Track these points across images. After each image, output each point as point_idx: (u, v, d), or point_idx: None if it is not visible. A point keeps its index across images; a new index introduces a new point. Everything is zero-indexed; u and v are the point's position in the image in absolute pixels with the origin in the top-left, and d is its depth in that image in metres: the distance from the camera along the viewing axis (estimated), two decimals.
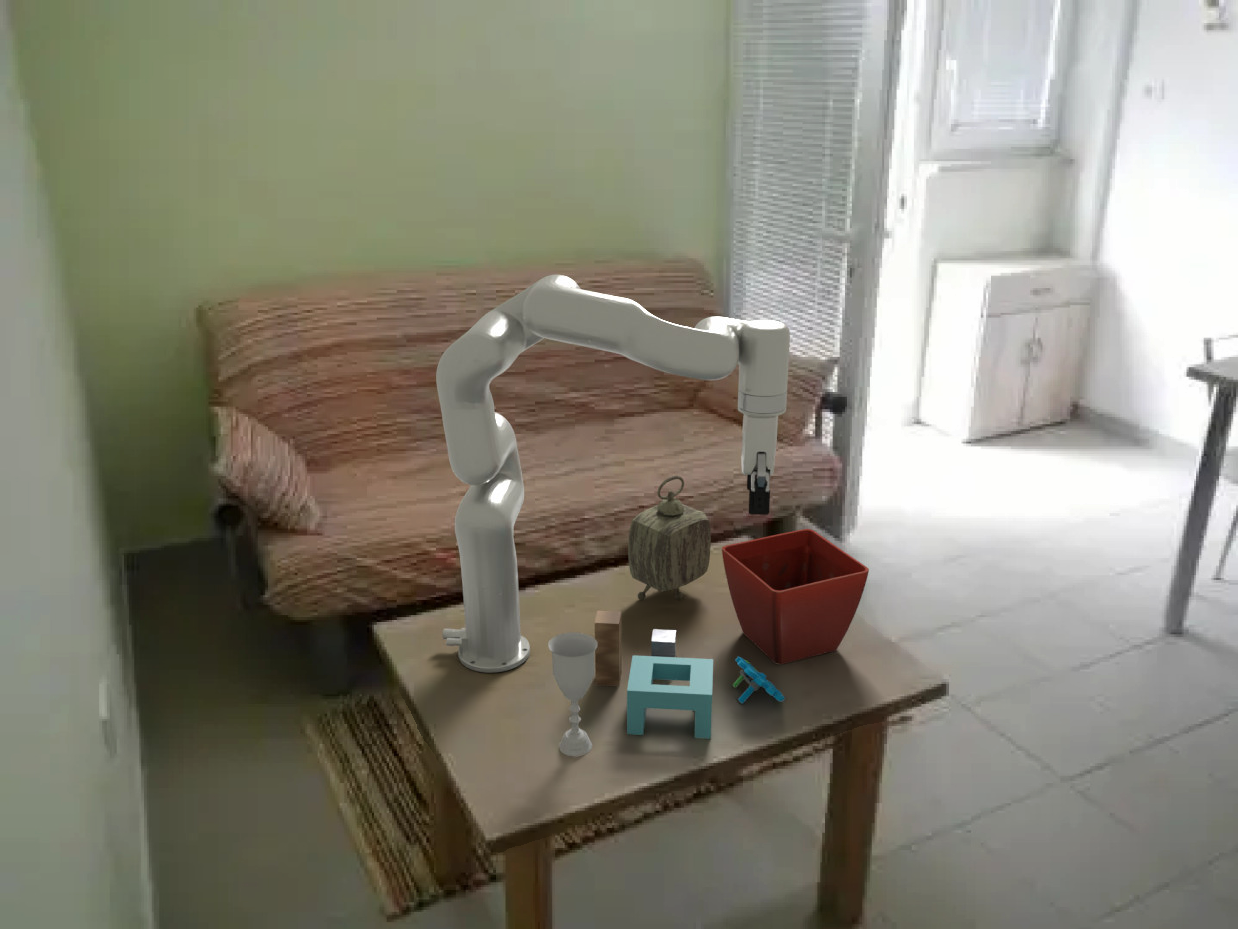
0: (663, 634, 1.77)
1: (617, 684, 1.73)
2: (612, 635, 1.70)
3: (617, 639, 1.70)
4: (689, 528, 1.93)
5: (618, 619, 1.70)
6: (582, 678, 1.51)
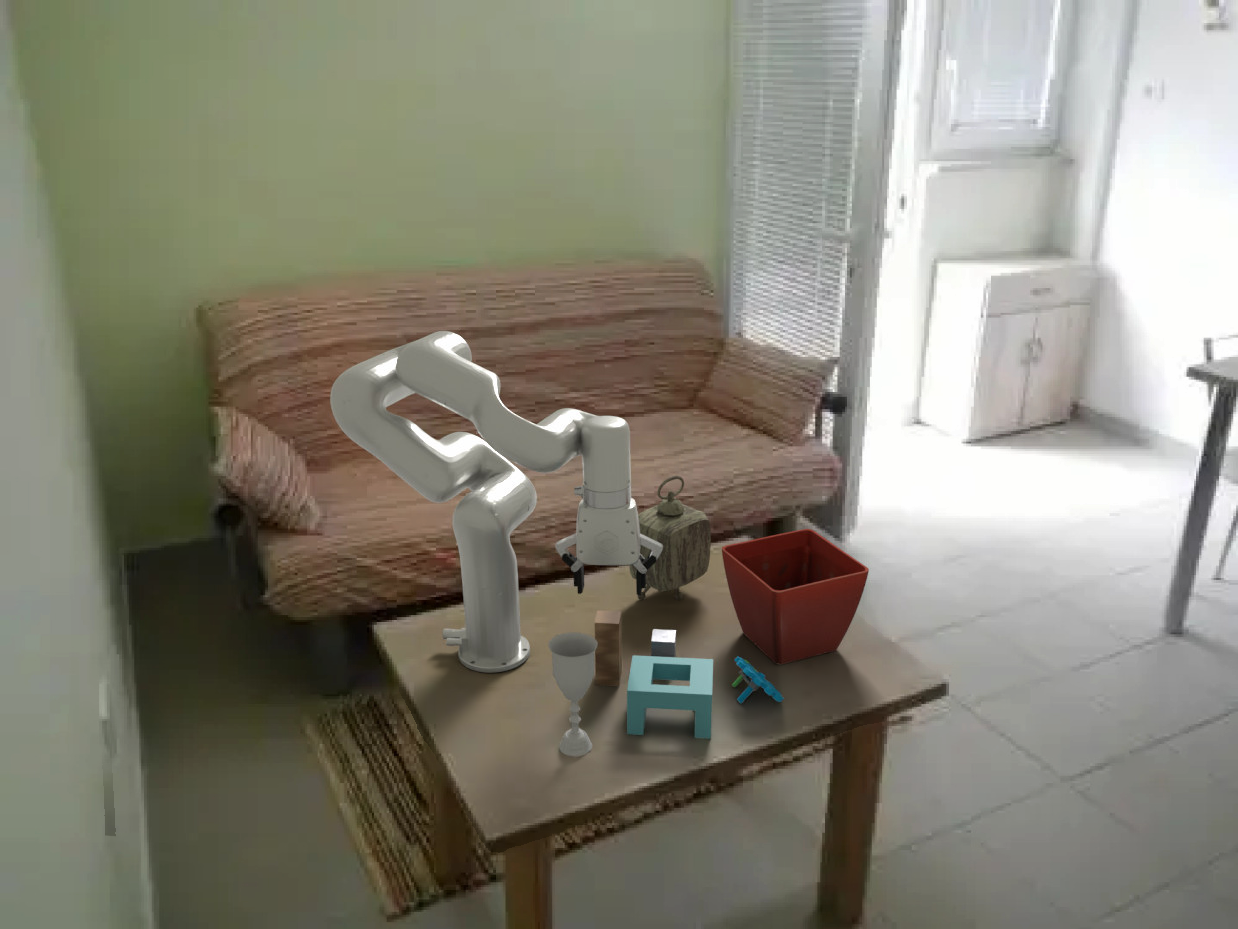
0: (663, 634, 1.77)
1: (617, 684, 1.73)
2: (612, 635, 1.70)
3: (617, 639, 1.70)
4: (689, 528, 1.93)
5: (618, 619, 1.70)
6: (582, 678, 1.51)
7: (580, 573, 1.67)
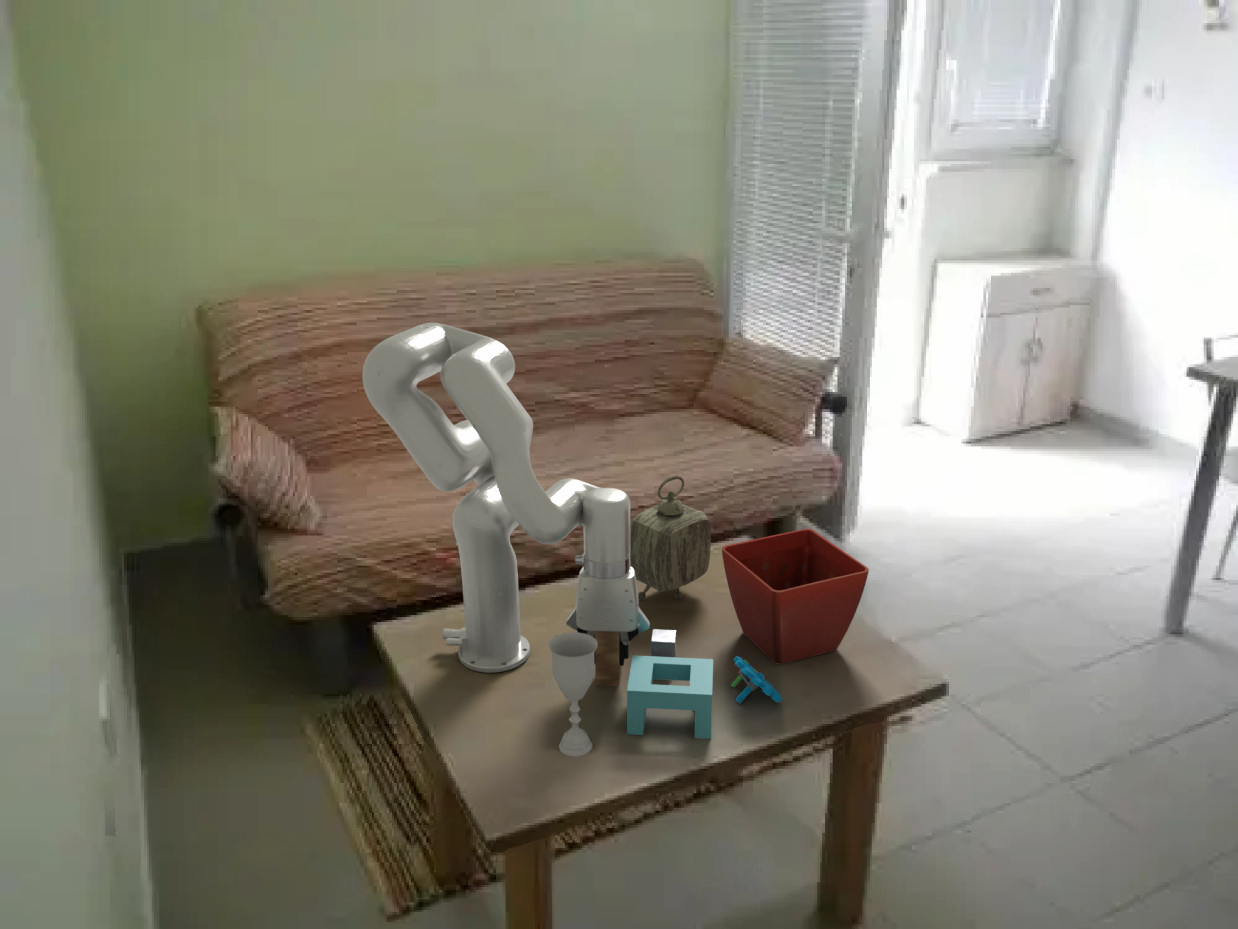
0: (663, 634, 1.77)
1: (617, 684, 1.73)
2: (612, 635, 1.70)
3: (617, 639, 1.70)
4: (689, 528, 1.93)
5: None
6: (582, 678, 1.51)
7: None
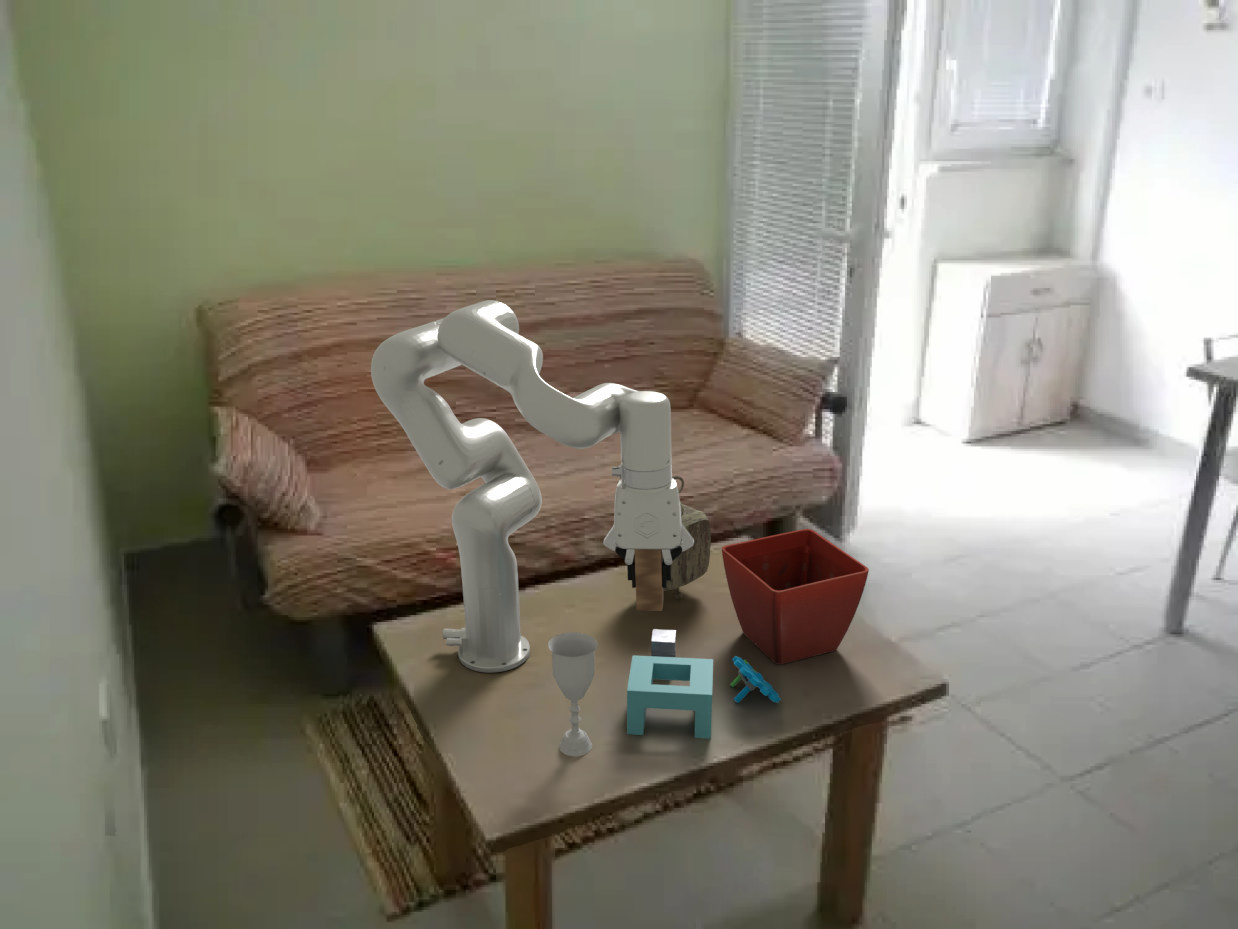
0: (663, 634, 1.77)
1: (660, 608, 1.60)
2: (654, 553, 1.57)
3: (659, 557, 1.57)
4: (689, 528, 1.93)
5: None
6: (582, 678, 1.51)
7: None
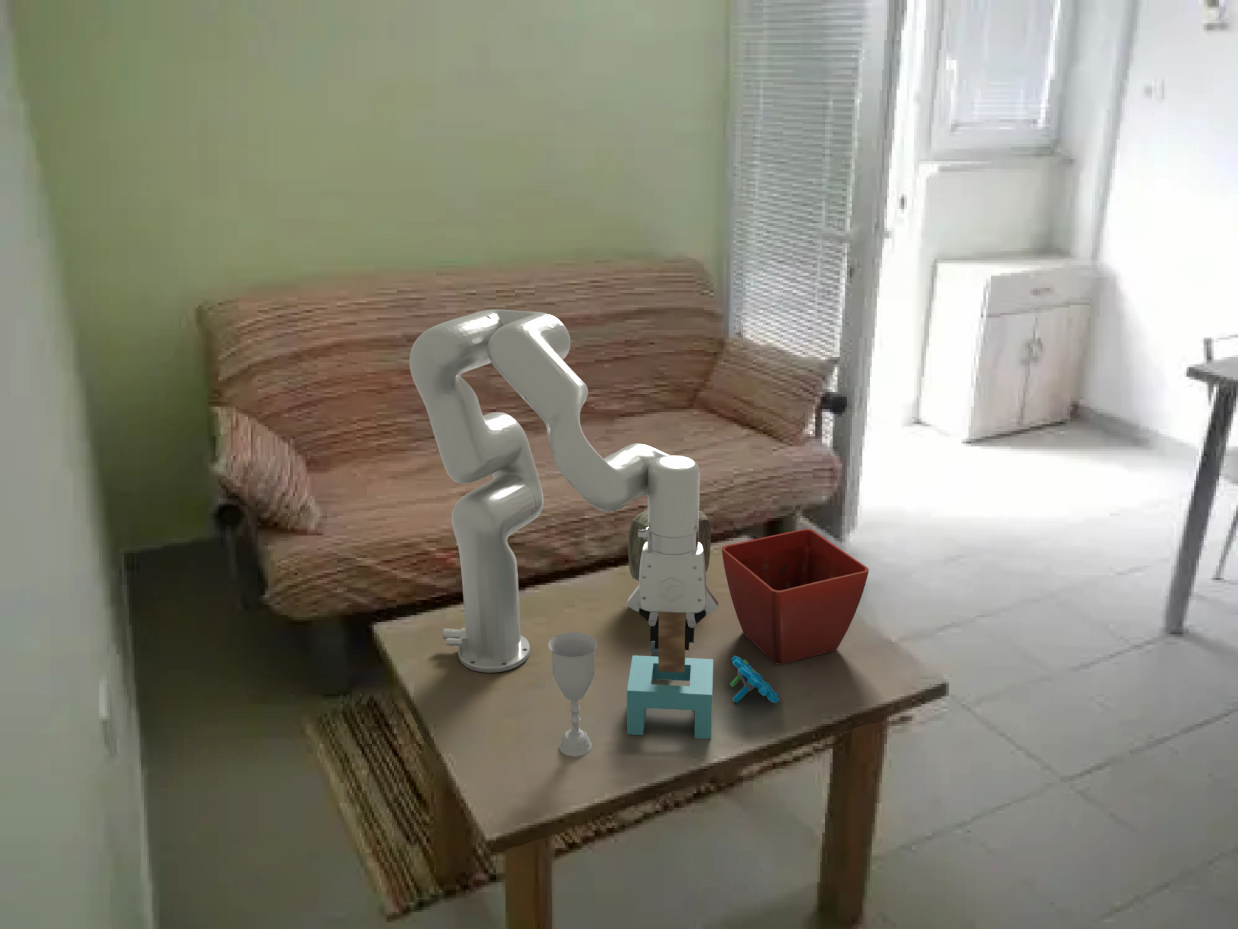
0: None
1: (682, 670, 1.59)
2: (678, 616, 1.56)
3: (683, 621, 1.56)
4: None
5: None
6: (582, 678, 1.51)
7: (658, 628, 1.57)
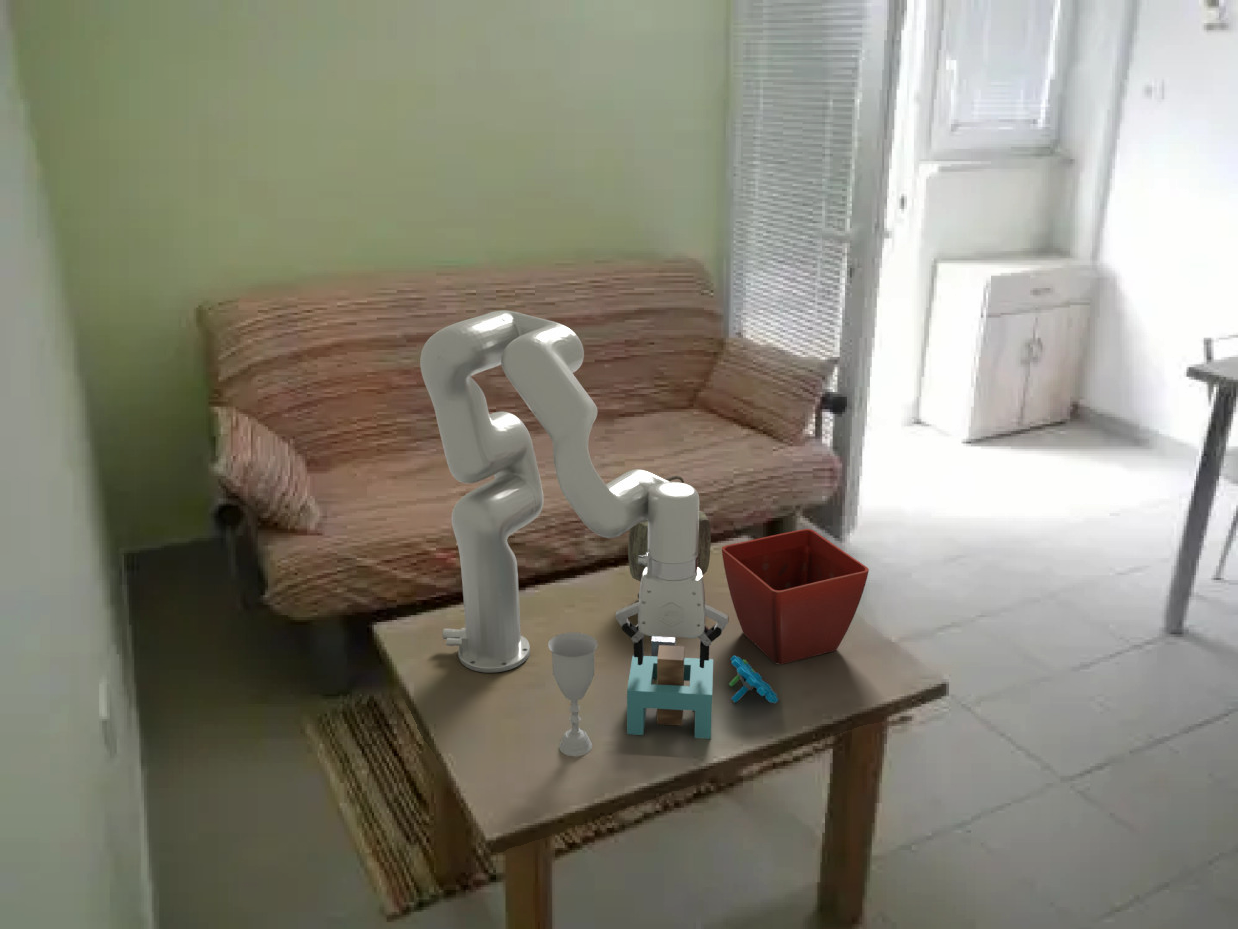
0: None
1: (680, 723, 1.63)
2: (676, 672, 1.59)
3: (681, 676, 1.60)
4: None
5: (682, 655, 1.60)
6: (582, 678, 1.51)
7: (641, 644, 1.59)
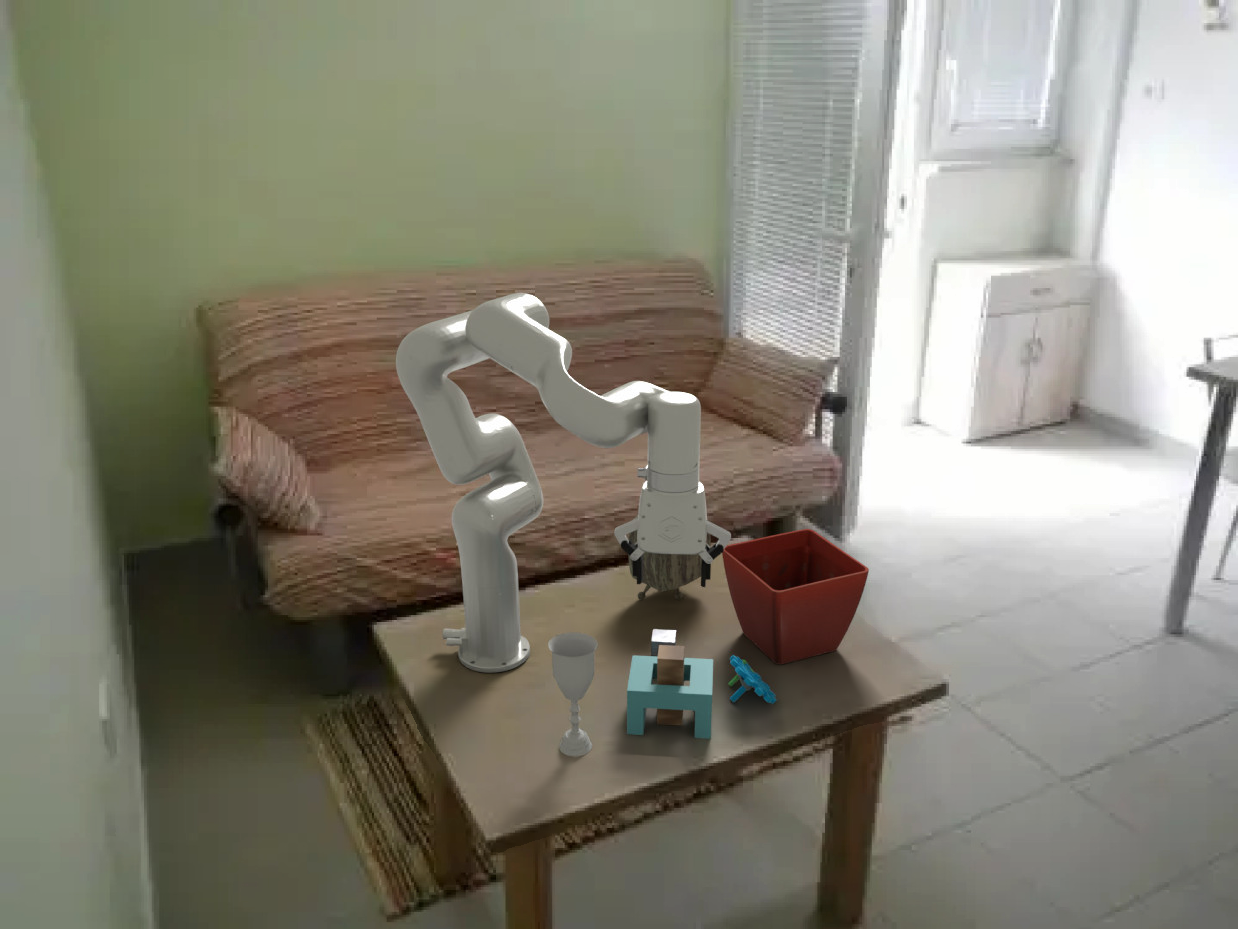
0: (663, 634, 1.77)
1: (680, 723, 1.63)
2: (676, 672, 1.59)
3: (681, 676, 1.60)
4: None
5: (682, 655, 1.60)
6: (582, 678, 1.51)
7: (640, 562, 1.54)
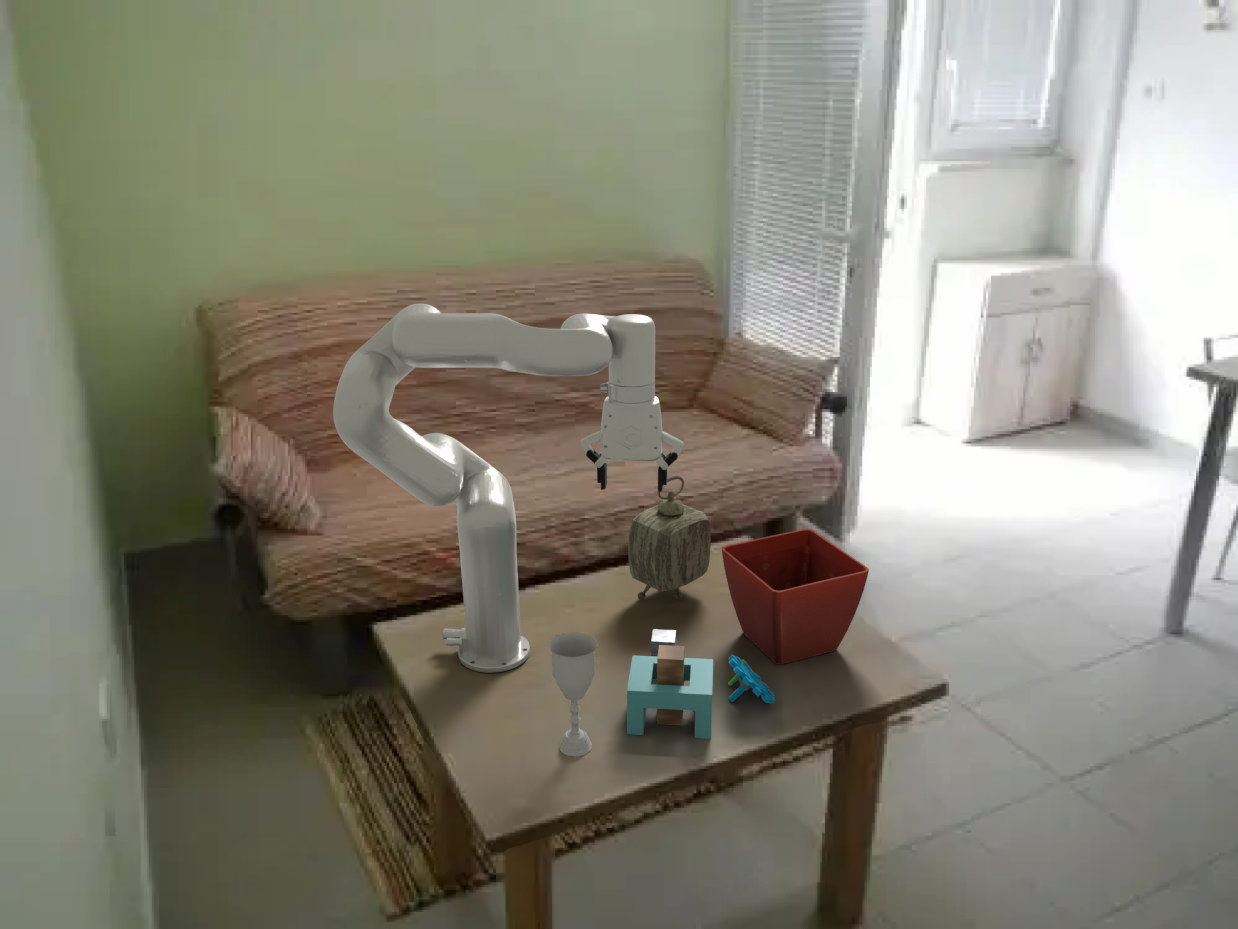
0: (663, 634, 1.77)
1: (680, 723, 1.63)
2: (676, 672, 1.59)
3: (681, 676, 1.60)
4: (689, 528, 1.93)
5: (682, 655, 1.60)
6: (582, 678, 1.51)
7: (604, 469, 1.73)
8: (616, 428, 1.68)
